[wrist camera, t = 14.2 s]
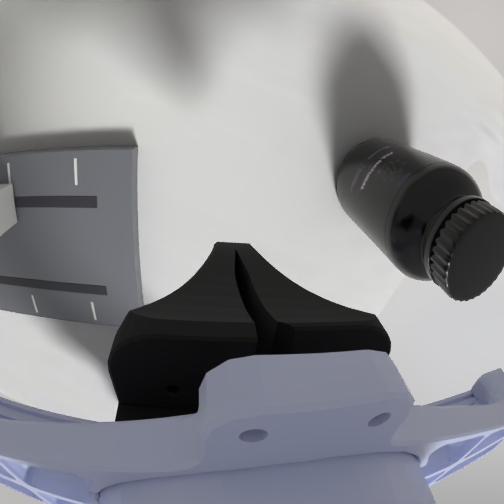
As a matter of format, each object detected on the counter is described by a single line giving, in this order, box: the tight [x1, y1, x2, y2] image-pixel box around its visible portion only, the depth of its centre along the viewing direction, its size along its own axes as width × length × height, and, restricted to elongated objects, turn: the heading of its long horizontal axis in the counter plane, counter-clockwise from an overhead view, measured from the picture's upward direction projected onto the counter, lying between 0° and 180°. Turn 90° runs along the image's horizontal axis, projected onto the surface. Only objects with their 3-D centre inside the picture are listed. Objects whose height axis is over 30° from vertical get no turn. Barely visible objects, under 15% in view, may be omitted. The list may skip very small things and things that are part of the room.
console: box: [0, 146, 144, 326], centre depth 19 cm, size 14×20×2 cm
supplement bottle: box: [337, 139, 504, 301], centre depth 16 cm, size 7×7×12 cm
